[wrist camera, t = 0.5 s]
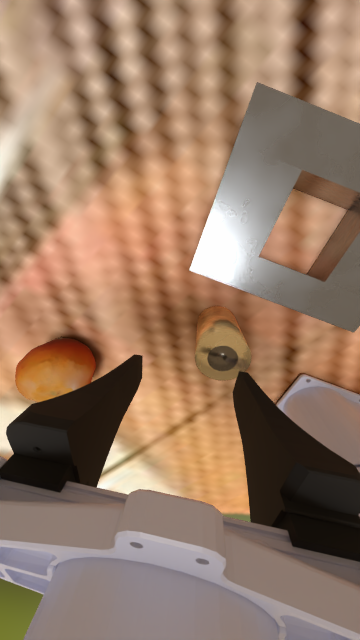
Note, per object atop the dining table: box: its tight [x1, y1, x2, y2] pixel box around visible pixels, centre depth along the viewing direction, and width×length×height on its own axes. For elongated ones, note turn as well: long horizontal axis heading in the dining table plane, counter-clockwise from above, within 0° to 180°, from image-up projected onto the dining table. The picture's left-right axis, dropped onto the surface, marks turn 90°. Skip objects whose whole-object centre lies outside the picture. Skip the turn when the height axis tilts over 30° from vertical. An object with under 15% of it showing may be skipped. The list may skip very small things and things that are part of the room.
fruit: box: [15, 336, 96, 403], centre depth 22 cm, size 8×8×8 cm
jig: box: [190, 82, 360, 332], centre depth 15 cm, size 16×12×3 cm
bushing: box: [195, 306, 251, 380], centre depth 17 cm, size 4×4×7 cm
